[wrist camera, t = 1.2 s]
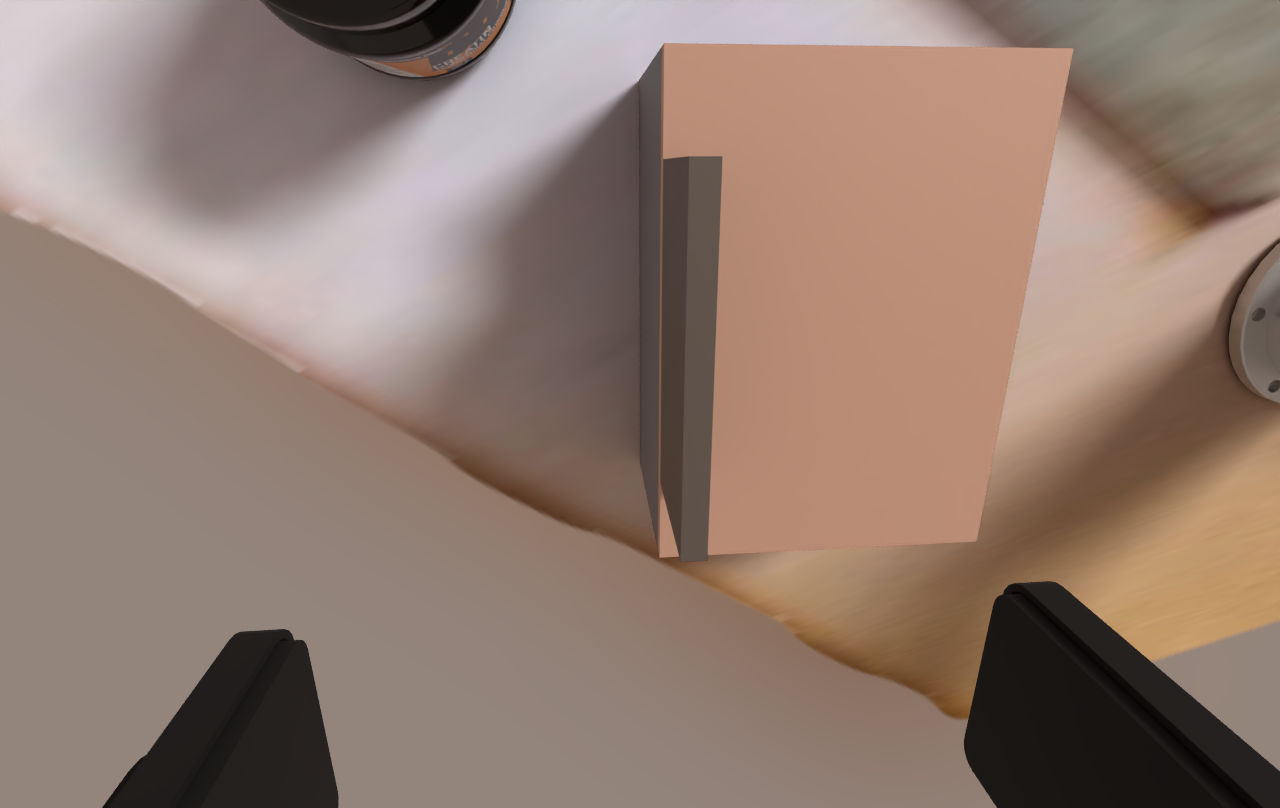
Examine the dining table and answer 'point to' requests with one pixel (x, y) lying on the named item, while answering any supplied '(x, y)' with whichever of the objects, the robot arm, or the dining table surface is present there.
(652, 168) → the carton
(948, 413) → the lid
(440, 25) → the supplement container
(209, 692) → the robot arm
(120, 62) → the dining table surface
